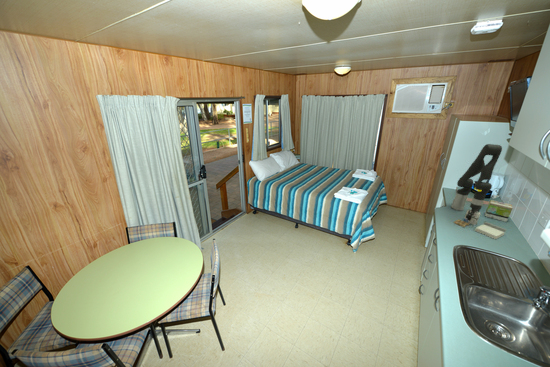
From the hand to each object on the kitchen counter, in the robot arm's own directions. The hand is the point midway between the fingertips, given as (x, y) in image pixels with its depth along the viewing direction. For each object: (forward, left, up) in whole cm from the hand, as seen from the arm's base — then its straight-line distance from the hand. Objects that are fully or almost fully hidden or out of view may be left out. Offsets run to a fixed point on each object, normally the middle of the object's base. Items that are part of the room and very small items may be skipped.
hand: (471, 219), depth 198 cm
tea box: (+6, +32, -4) cm, 33 cm away
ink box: (0, 0, -4) cm, 4 cm away
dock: (+16, -5, -4) cm, 17 cm away
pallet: (-2, -10, -4) cm, 11 cm away
